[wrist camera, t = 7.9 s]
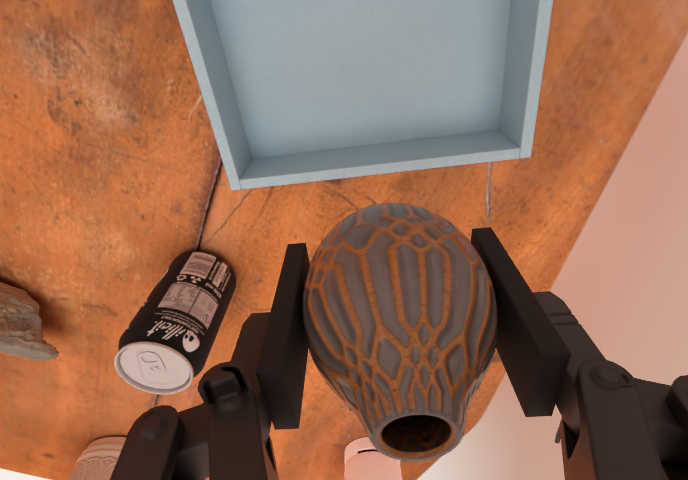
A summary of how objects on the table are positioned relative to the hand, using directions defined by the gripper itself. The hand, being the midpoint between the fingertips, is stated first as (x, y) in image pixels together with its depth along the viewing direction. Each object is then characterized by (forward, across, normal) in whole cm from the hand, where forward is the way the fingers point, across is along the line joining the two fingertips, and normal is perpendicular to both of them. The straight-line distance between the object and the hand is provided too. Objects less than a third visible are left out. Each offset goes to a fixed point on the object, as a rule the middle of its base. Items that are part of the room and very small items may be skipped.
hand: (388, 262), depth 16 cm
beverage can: (+17, -18, -12) cm, 27 cm away
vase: (+1, 0, 0) cm, 1 cm away
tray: (+17, 0, +6) cm, 18 cm away
